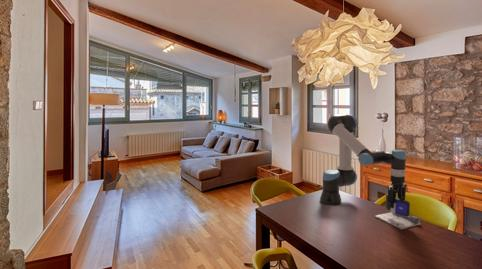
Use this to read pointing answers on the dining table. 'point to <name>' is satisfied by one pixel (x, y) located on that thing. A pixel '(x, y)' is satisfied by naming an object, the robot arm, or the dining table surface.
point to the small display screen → (399, 206)
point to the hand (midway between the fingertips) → (395, 212)
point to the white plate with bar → (399, 220)
